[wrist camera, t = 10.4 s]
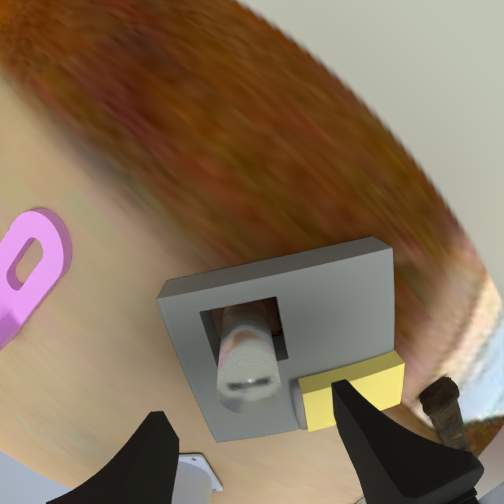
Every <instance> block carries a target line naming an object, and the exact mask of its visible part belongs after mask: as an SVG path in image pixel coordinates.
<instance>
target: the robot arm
mask: <svg viewBox="0 0 504 504" xmlns="http://www.w3.org/2000/svg"><path fill="white" fill-rule="evenodd" d="M331 388H332V401H333V415H334V418H335V421H336V425H337V428H338V431H339V434H340V437H341V439H342V441H343V443H344V446H345V448H346V450H347V452H348V455H349V457H350V459H351V461H352V464H353V466H354V468H355V470H356V473H357V475H358V478H359V481H360V484H361V487H362V491H363V494H364V497H365V501H366V504H504V482H503V483H501V484H500V485H499V486H497V487H496V488H494V489H493V490H492V491H490V492H489V493H487V494H486V495H484V496H483V497H482V498H481V499H479V500H477V499H476V497H475V496H476V495H477V491H476V490H475V488H474V486H475V485H476V484H477V482H478V481H479V479H480V478H481V476H482V475H483V473H484V467H483V465H482V464H481V462H480V461H479V460H478V459H477V457H476V456H475V455H474V454H473V453H472V452H468V451H464V450H459V449H455V448H451V447H448V446H444V445H441V444H438V443H436V442H434V441H431V440H429V439H426V438H424V437H422V436H419V435H417V434H415V433H414V432H412V431H410V430H408V429H406V428H404V427H403V426H401V425H399V424H398V423H396V422H395V421H393V420H392V419H390V418H389V417H388V416H386V415H385V414H384V413H382V412H381V411H380V410H378V409H377V408H376V407H375V406H374V405H372V404H371V403H370V402H369V401H368V400H367V399H366V398H364V397H363V396H362V395H361V394H360V393H359V392H358V391H357V390H356V389H355V388H354V387H353V386H352V385H351V383H350V382H349V381H348V380H346V379H343V380H340V381H336V382H332V383H331ZM222 490H223V487H222V485H221V484H220V482H219V480H218V479H217V477H216V476H215V474H214V473H213V471H212V469H211V468H210V466H209V464H208V463H207V461H206V459H205V458H204V456H203V455H201V454H186V455H179V438H178V436H177V435H176V433H175V431H174V430H173V428H172V426H171V424H170V423H169V421H168V419H167V417H166V416H165V414H164V412H163V411H156V412H150V413H149V414H148V416H147V417H146V418H145V420H144V421H143V422H142V424H141V425H140V426H139V428H138V429H137V430H136V431H135V433H134V434H133V435H132V436H131V438H130V439H129V440H128V442H127V443H126V444H125V445H124V446H123V447H122V449H121V450H120V451H119V452H118V453H117V454H116V455H115V456H114V457H113V459H112V460H111V461H110V462H109V463H108V464H107V465H105V466H104V467H103V468H102V469H101V470H100V471H99V472H98V473H96V474H95V475H94V476H92V477H91V478H90V479H88V480H87V481H86V482H84V483H83V484H81V485H80V486H78V487H77V488H75V489H73V490H72V491H70V492H68V493H66V494H64V495H62V496H60V497H58V498H56V499H53V500H51V501H48V502H46V504H210V502H211V492H218V491H222Z"/></svg>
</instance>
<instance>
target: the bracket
mask: <svg viewBox="0 0 504 504" xmlns="http://www.w3.org/2000/svg"><path fill="white" fill-rule="evenodd" d="M35 238H36V239H38V240H39V242H40V243H41V245H42V247H43V258H42V260H41V261H40V262H39V264H38V265H37V266H36V268H35V269H34V270H33V272H32V273H31V275H30V276H29V277H28V279H27V280H26V282H25V283H24V285H23V284H21V283H20V282H19V281H18V279H17V277H16V275H15V267H16V265H17V264H18V262H19V261H20V259H21V258H22V256H23V255H24V253H25V252H26V250H27V249H28V247H29V246H30V244H31V243H32V242H33V240H34V239H35ZM71 258H72V245H71V239H70V236H69V233H68V230H67V228H66V226H65V225H64V223H63V222H62V220H61V219H60V218H59V217H58V216H57V215H56V214H55V213H53V212H52V211H50V210H47V209H42V208H40V209H34V210H31V211H27V212H24V213H22V214H21V215H19V216H18V217H17V218H16V219H15V221H14V222H13V224H12V225H11V227H10V229H9V230H8V232H7V234H6V235H5V237H4V238H3V240H2V242H1V244H0V351H1V350H2V349H3V348H4V347H5V346H6V345H7V344H8V343H9V342H10V341H11V340H12V339H14V338H15V337H16V335H17V334H18V332H19V331H20V330H21V328H22V327H23V326H24V324H25V323H26V322H27V320H28V319H29V318H30V316H31V315H32V314H33V312H34V311H35V310H36V309H37V307H38V306H39V305H40V303H41V302H42V301H43V300H44V298H45V297H46V296H47V295H48V293H49V292H50V291H51V290H52V289H53V287H54V286H55V285H56V284H57V283H58V281H59V280H60V279H61V278H62V277H63V276H64V274H65V273H66V272H67V270H68V268H69V266H70V263H71Z"/></svg>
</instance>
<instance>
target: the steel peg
mask: <svg viewBox="0 0 504 504" xmlns="http://www.w3.org/2000/svg"><path fill="white" fill-rule="evenodd" d="M281 394H282V386H281V381H280V376H279V371H278V366H277V360H276V355H275V350H274V345H273V340H272V335H271V330H270V324H269V319H268V314H267V309H266V307H265V305H264V303H263V302H262V301H261V300H255V301H250V302H245V303H241V304H236V305H231V306H226V307H225V308H224V311H223V320H222V330H221V341H220V352H219V363H218V375H217V386H216V395H217V398H218V400H219V402H220V403H221V404H222V405H223V406H224V407H225V408H227V409H229V410H230V411H233V412H236V413H240V414H257V413H261V412H264V411H266V410H268V409H270V408H271V407H273V406H274V405H275V404H276V403H277V402H278V401H279V399H280V397H281Z"/></svg>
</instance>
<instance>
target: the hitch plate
mask: <svg viewBox="0 0 504 504" xmlns="http://www.w3.org/2000/svg"><path fill="white" fill-rule="evenodd" d="M274 296H275V299H276V304H277V309H278V314H279V319H280V324H281V329H282V334H283V335H280V336H275V337H272V340H273V345H274V350H275V355H276V360H277V366H278V371H279V376H280V381H281V386H282V394H281V397H280V399H279V401H278V402H277V403H276V404H275V405H274V406H273V407H271V408H270V409H268V410H266V411H264V412H261V413H257V414H240V413H236V412H233V411H230V410H229V409H227V408H225V407H224V406H223V405H222V404H221V403H220V402H219V400H218V398H217V395H216V386H217V375H218V363H219V352H220V342H219V339H218V336H217V333H216V329H215V326H214V323H213V320H212V316H211V313H210V309H215V308H221V307H226V306H231V305H236V304H241V303H245V302H250V301H255V300H260V299H265V298H269V297H274ZM156 300H157V303H158V306H159V309H160V312H161V315H162V317H163V320H164V323H165V326H166V328H167V331H168V334H169V336H170V339H171V341H172V344H173V347H174V349H175V352H176V354H177V357H178V359H179V362H180V364H181V367H182V369H183V371H184V374H185V376H186V379H187V381H188V383H189V386H190V388H191V390H192V392H193V395H194V397H195V399H196V401H197V404H198V406H199V408H200V410H201V412H202V414H203V417H204V419H205V421H206V423H207V425H208V427H209V429H210V431H211V433H212V435H213V437H214V439H215V441H216V442H226V441H234V440H242V439H249V438H255V437H262V436H268V435H273V434H279V433H284V432H289V431H294V430H298V429H300V428H299V427H298V423H297V418H296V412H295V407H294V402H293V397H292V392H291V385H292V384H294V383H295V382H298V379H299V378H303V377H307V376H311V375H315V374H319V373H323V372H327V371H331V370H334V369H338V368H341V367H345V366H348V365H352V364H355V363H358V362H362V361H365V360H368V359H371V358H374V357H377V356H380V355H383V354H386V353H389V352H392V351H393V348H394V272H393V253H392V247H390V246H388V245H386V244H385V243H383V242H381V241H379V240H378V239H376V238H374V237H367V238H363V239H358V240H354V241H349V242H345V243H340V244H336V245H331V246H327V247H322V248H318V249H313V250H309V251H304V252H299V253H295V254H290V255H286V256H281V257H276V258H272V259H267V260H262V261H258V262H253V263H248V264H244V265H239V266H234V267H230V268H225V269H220V270H215V271H211V272H206V273H201V274H196V275H192V276H187V277H182V278H177V279H172V280H167V282H166V283H165V285H164V287H163V288H162V290H161V292H160V293H159V295H158V297H157V298H156Z"/></svg>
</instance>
